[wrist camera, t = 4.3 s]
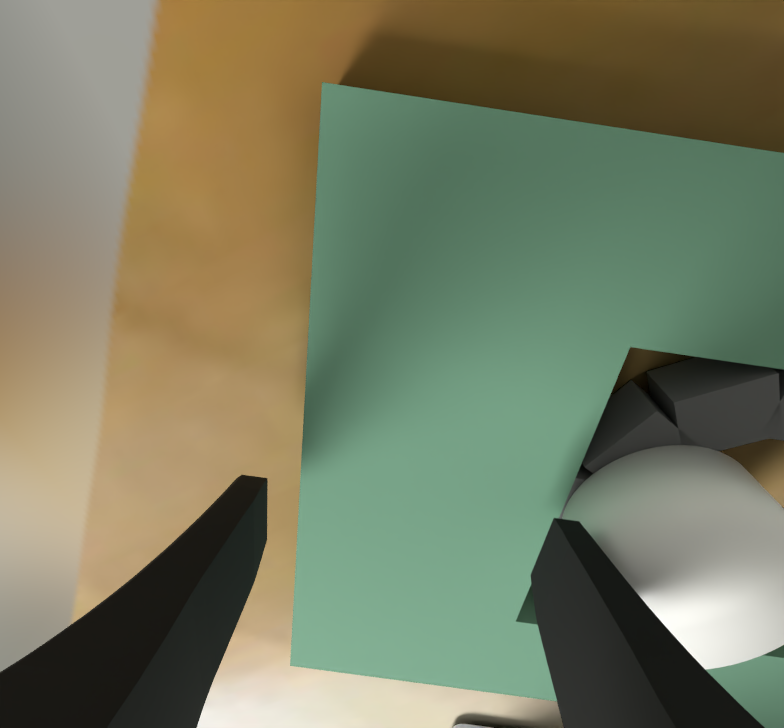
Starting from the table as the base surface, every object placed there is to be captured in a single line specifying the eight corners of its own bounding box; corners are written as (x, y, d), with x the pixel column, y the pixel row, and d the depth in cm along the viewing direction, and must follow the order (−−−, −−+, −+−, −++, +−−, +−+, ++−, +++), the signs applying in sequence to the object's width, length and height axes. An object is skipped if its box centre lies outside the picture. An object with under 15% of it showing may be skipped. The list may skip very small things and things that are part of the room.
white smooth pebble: (704, 590, 14) (761, 680, 11) (538, 570, 14) (564, 658, 11) (794, 458, 11) (888, 540, 9) (596, 433, 11) (642, 510, 9)
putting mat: (755, 686, 18) (782, 731, 17) (299, 625, 18) (290, 666, 17) (1180, 217, 10) (1299, 232, 8) (335, 87, 9) (321, 82, 8)
